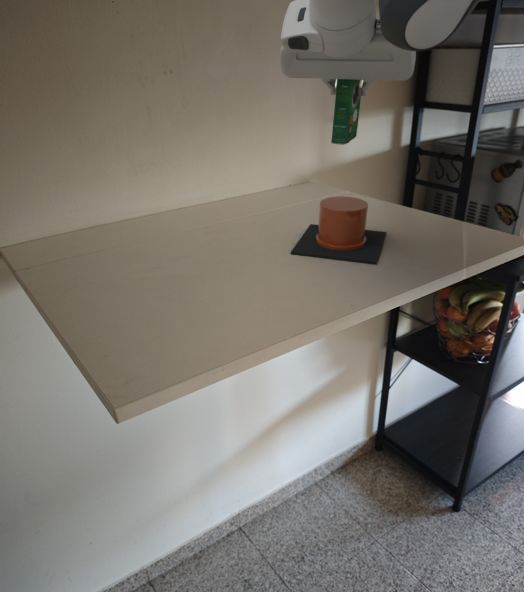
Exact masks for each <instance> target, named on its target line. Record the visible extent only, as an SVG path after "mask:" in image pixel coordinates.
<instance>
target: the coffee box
mask: <svg viewBox="0 0 524 592" xmlns="http://www.w3.org/2000/svg"><path fill="white" fill-rule="evenodd" d="M358 81H359V80H354V79H337V86H336V95H335V100H334V110H333V120H332V133H331V141H330V142H331V144H333V145H339V146H340V145H342V146H343V145H344V146H345V145H347V144H349V143H350V142H351V141H352V140H354V139H355V138H357V133H358V127H359V118H360V109H361V101H362V96H357V86H358Z"/></svg>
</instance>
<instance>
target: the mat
mask: <svg viewBox="0 0 524 592" xmlns="http://www.w3.org/2000/svg"><path fill="white" fill-rule="evenodd" d="M318 228H319V224H315V223H310V224H309V226H308V227H307V229H306V230H305V231H304V233H303V234H302V235H301V237H300V238H299V240H298V241H297V242H296V244H295V245H294V246H293V247H292V249H291V251H290V255H294V256H303V257H311V258H318V259H319V258H320V259H329V260H336V261H344V262H353V263H361V264H370V265H377V263H378V260H379V258H380V254H381V251H382V248H383V245H384V242H385V239H386V235H387V231H381V230H371V229H365V237H366V244H365V245H364V246H363V247H362V248H359V249H356V250H350V251H338V250H331V249H327V248H324V247H321V246H320V245H318V244H317V243H316V235H317V234H318Z"/></svg>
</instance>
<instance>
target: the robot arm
mask: <svg viewBox="0 0 524 592" xmlns="http://www.w3.org/2000/svg"><path fill="white" fill-rule="evenodd" d="M479 2H481V0H378V14H379V15H378V16H379V19H378V18H377V0H293V1H291V2H290V3H289V4H288V6H287V9H286V11H285V14H284V17H283V22H282V26H281V32H280V34H281V35H280V44H281V46H280V51H279V63H280V68H281V72H282V74H283V75H284V76H286V77H287V78H288V79H315V80H316V79H317V80H318V79H319V80H321V81H322V83H323V84H325V86H326V87H327V88H329V89H330V95H332V96H336V86H337V79H354V80H359V81H358V86H357V96H361V97H367V95H368V89H369V87H370V86H371V85H372V84H373V81H395V82H396V81H399V82H406V81H408V80H409V79H411V77H413V75H414V71H415V65H416V59H417V52H425V51H430V50H433V49H434V48H437V47H439V46H440V45H442V44H444V43H445V42H447V41H448V40H449V39H450V38H452V36H453V35H455V34H456V33H457V31H458V30H459V29H460V28H461V26H463V24H465V22H466V20H467V19H468V18H469V16H470V15H471V14H472V12H473V11H474V9H475V8H476V6H477V5H478V4H479Z"/></svg>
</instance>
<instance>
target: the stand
mask: <svg viewBox="0 0 524 592" xmlns="http://www.w3.org/2000/svg"><path fill="white" fill-rule="evenodd" d="M368 209H369V204H368V201H366V200H364V199H361V198H358V197H354V196H353V197H352V196H331V197H325V198H323V199H321V200H320V203H319V213H318V225H319V228H318V234H317V235H316V243H317V244H318V245H320V246H321V247H324V248H327V249H331V250H338V251H350V250H356V249H359V248H362V247H363V246H364V245H365V244H366V237H365V230H366V228H367V219H368V212H369V211H368Z"/></svg>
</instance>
